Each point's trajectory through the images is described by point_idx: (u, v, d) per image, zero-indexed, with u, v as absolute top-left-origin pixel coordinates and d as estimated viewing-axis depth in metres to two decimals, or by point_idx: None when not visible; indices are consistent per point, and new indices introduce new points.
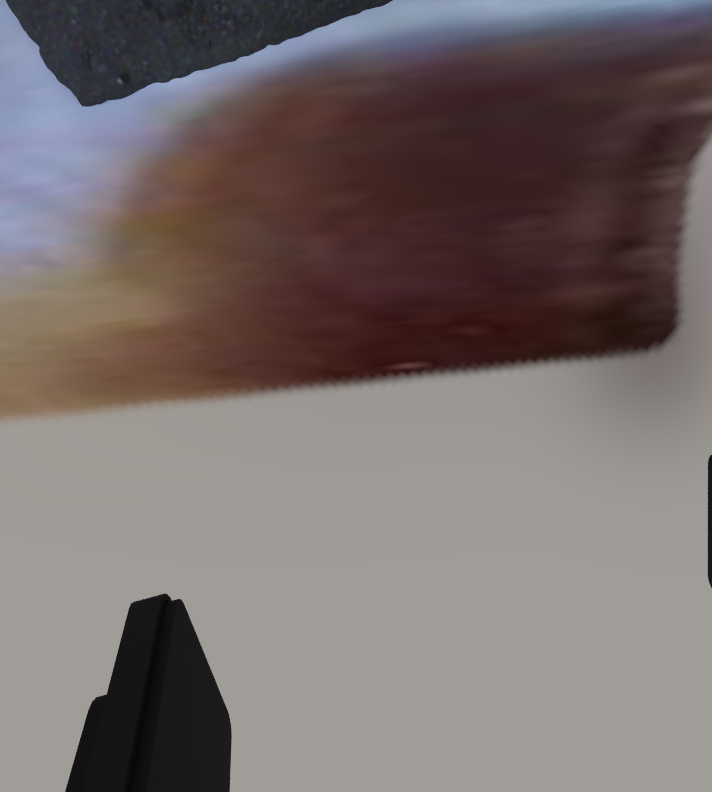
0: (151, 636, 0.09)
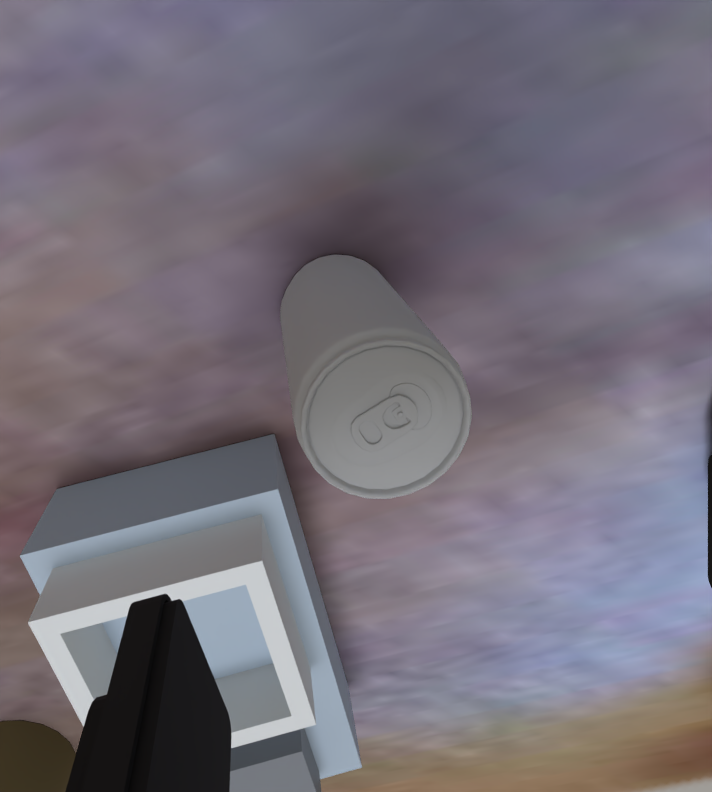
0: (151, 636, 0.09)
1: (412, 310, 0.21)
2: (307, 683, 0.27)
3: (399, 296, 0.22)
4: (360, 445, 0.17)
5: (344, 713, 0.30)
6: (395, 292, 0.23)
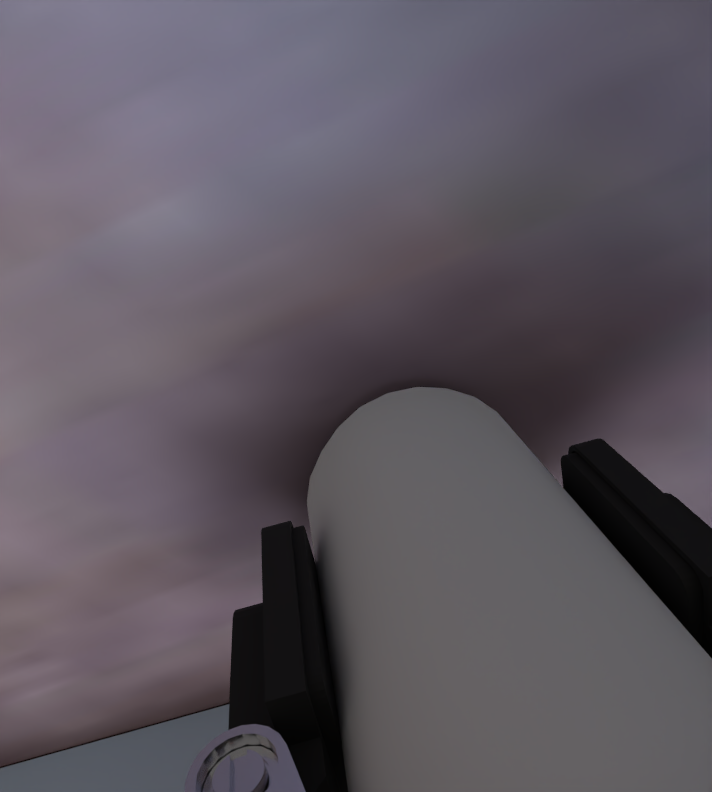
0: (289, 552, 0.10)
1: (697, 642, 0.08)
2: None
3: (614, 549, 0.09)
4: None
5: None
6: (596, 529, 0.10)
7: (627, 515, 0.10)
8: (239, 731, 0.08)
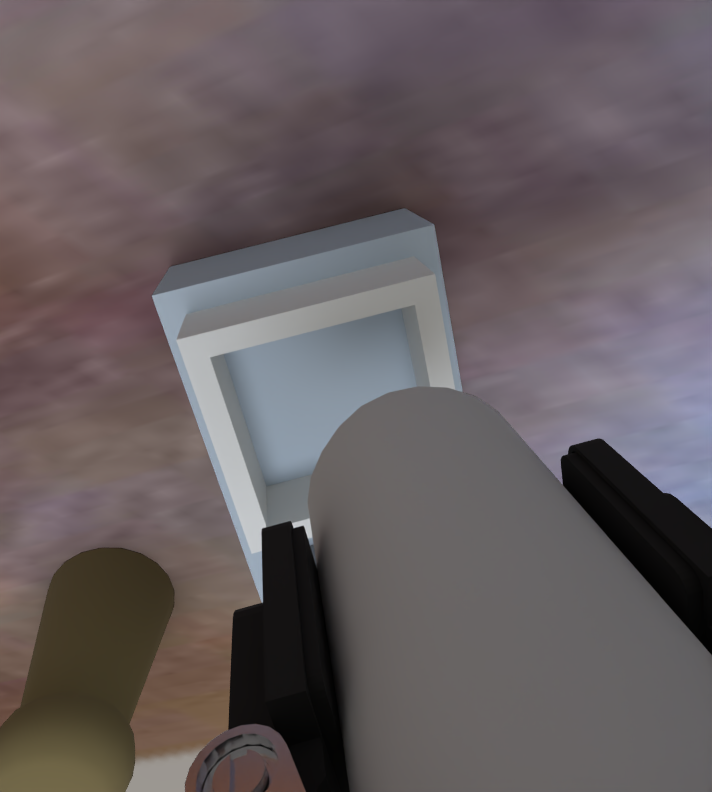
0: (289, 552, 0.10)
1: (699, 641, 0.07)
2: None
3: (616, 549, 0.09)
4: None
5: None
6: (597, 529, 0.10)
7: (627, 515, 0.10)
8: (239, 731, 0.08)
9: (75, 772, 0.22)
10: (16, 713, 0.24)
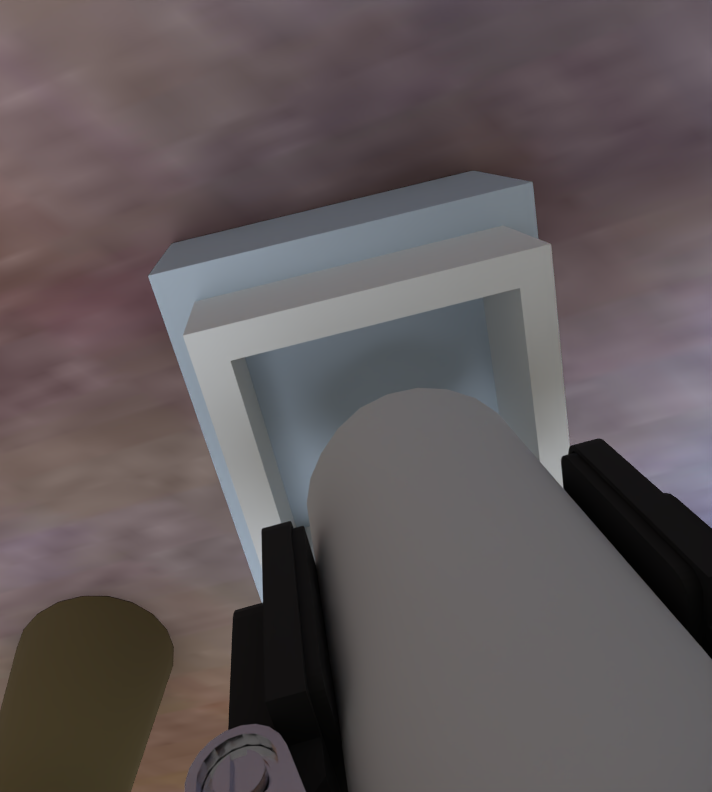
0: (289, 552, 0.10)
1: None
2: None
3: (616, 551, 0.09)
4: None
5: None
6: (597, 531, 0.09)
7: (627, 515, 0.10)
8: (239, 731, 0.08)
9: None
10: None
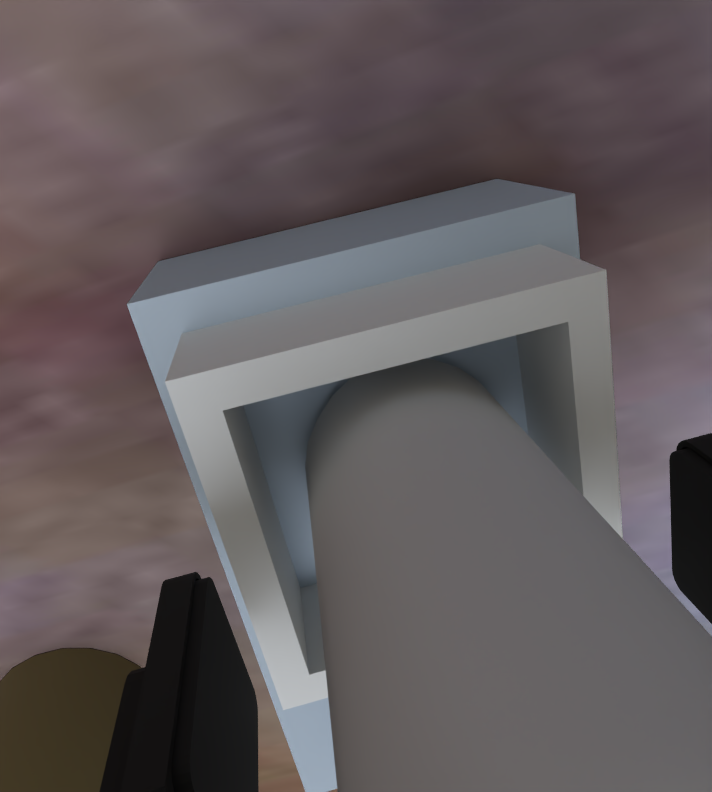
0: (185, 611, 0.10)
1: (627, 544, 0.09)
2: None
3: (567, 480, 0.10)
4: None
5: None
6: (553, 466, 0.11)
7: None
8: None
9: None
10: None
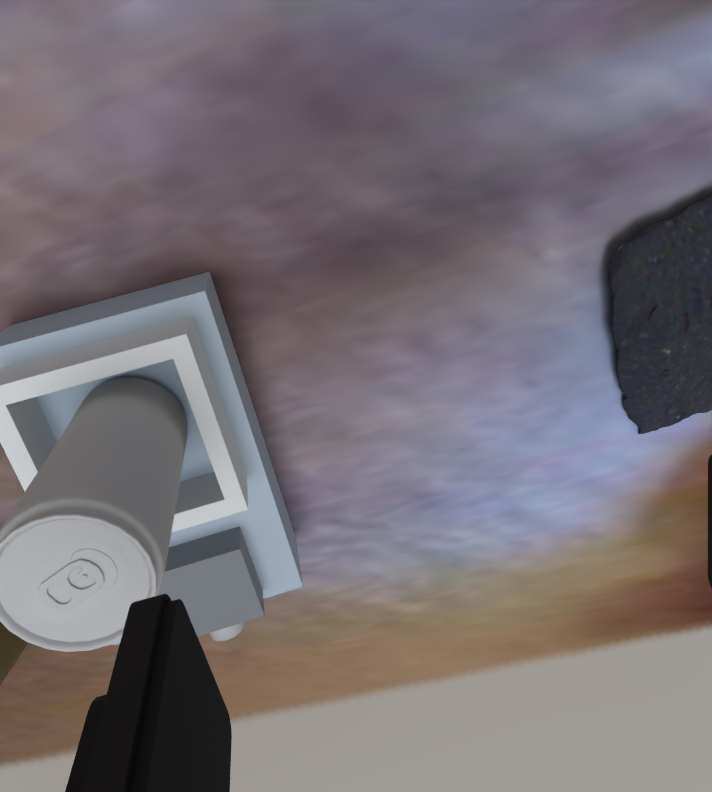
0: (151, 636, 0.09)
1: (144, 453, 0.22)
2: (240, 476, 0.29)
3: (148, 432, 0.24)
4: (52, 605, 0.19)
5: (282, 527, 0.33)
6: (148, 426, 0.24)
7: None
8: None
9: None
10: None
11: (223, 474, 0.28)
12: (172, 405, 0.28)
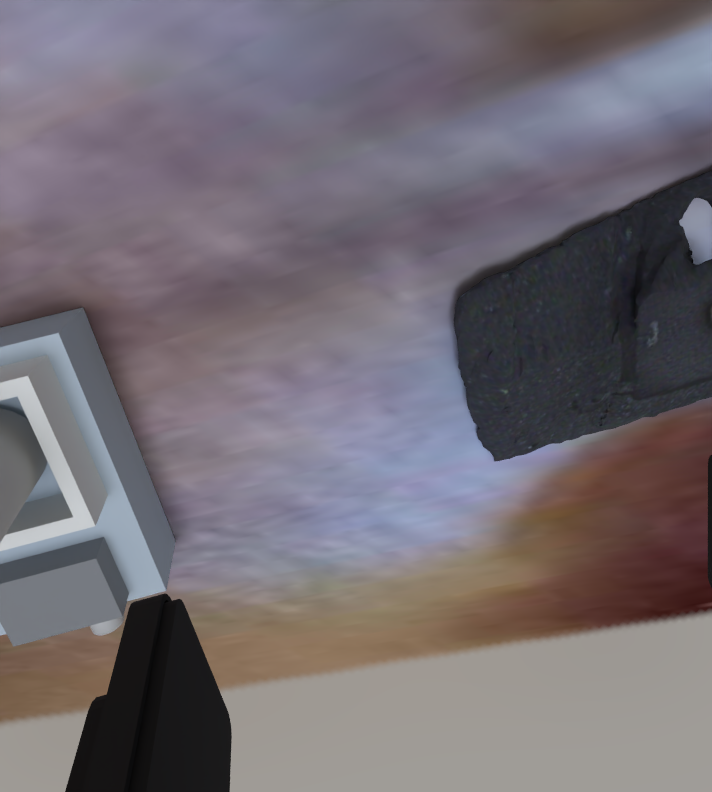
0: (151, 636, 0.09)
1: None
2: (91, 495, 0.33)
3: None
4: None
5: (143, 539, 0.36)
6: None
7: None
8: None
9: None
10: None
11: (70, 495, 0.32)
12: (27, 433, 0.32)
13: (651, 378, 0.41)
